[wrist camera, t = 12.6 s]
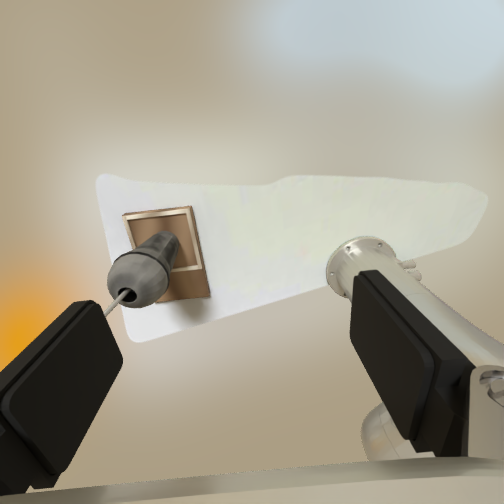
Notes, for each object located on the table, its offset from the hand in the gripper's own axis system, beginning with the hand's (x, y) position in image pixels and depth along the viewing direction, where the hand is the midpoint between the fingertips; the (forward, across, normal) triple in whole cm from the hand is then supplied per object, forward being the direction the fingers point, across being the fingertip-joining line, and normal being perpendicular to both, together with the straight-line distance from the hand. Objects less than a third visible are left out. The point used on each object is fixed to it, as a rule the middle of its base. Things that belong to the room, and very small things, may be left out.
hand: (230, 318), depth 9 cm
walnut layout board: (+33, +14, +12) cm, 38 cm away
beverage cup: (+32, +14, +9) cm, 36 cm away
